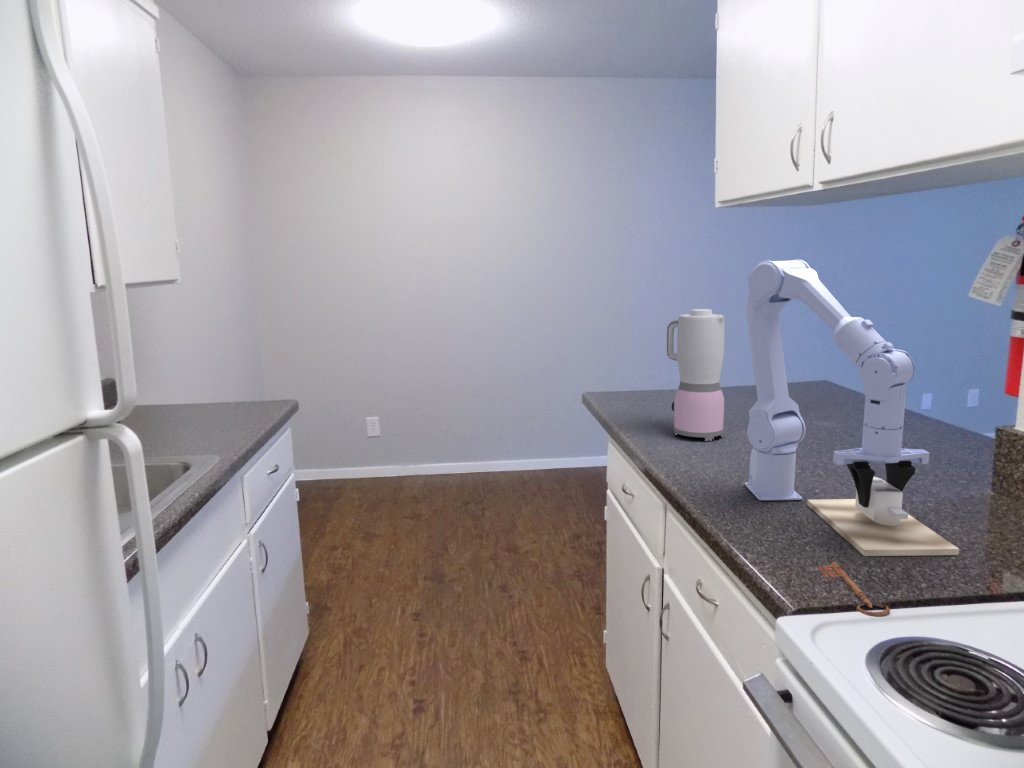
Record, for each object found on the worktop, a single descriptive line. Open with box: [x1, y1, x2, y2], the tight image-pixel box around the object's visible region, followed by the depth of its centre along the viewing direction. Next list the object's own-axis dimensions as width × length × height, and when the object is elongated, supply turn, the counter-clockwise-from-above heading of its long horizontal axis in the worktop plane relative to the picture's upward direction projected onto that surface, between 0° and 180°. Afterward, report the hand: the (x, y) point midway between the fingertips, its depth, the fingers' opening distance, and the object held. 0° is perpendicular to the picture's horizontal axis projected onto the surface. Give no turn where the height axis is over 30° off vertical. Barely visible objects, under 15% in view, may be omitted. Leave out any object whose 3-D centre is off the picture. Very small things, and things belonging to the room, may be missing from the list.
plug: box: [855, 476, 909, 526], centre depth 113 cm, size 12×4×5 cm, turn 178°
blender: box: [666, 308, 726, 440], centre depth 173 cm, size 16×12×32 cm
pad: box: [806, 498, 960, 557], centre depth 115 cm, size 22×14×1 cm, turn 178°
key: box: [817, 561, 891, 617], centre depth 95 cm, size 6×1×15 cm
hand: (877, 505), depth 114 cm, fingers closed on plug, 4 cm apart
